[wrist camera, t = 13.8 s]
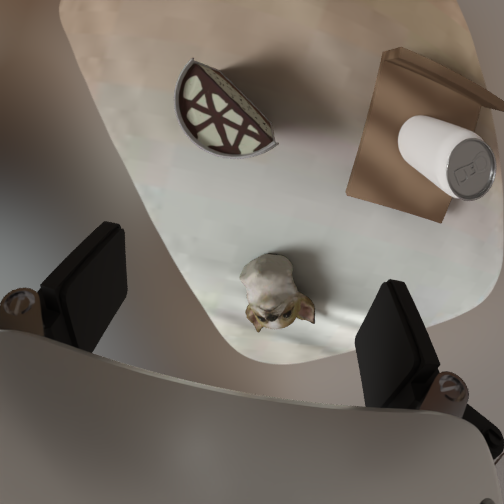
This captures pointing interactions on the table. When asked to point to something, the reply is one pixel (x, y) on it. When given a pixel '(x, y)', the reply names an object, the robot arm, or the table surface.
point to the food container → (220, 114)
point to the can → (448, 156)
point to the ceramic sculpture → (274, 293)
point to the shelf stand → (392, 119)
